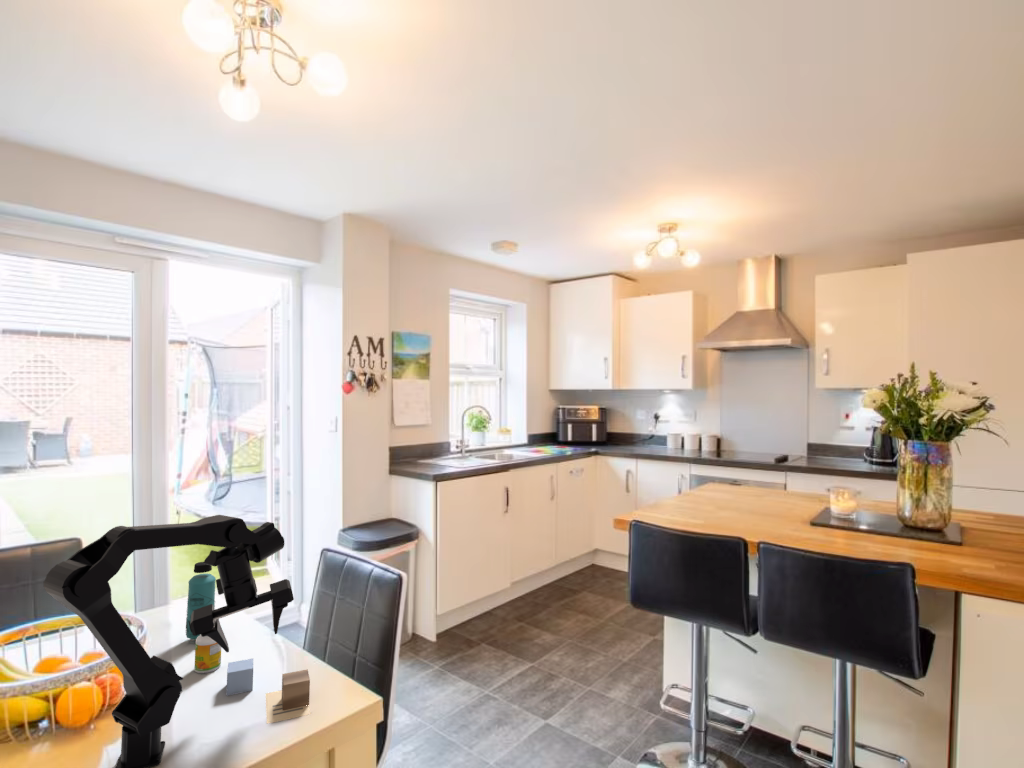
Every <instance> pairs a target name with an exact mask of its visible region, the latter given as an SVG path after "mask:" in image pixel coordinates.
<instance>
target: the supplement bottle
mask: <svg viewBox="0 0 1024 768" xmlns="http://www.w3.org/2000/svg"><path fill="white" fill-rule="evenodd" d="M221 664H222V647H221V646H220V645H219V644H218V643H217V642H216V641H214V640H213V639H211V638H210V637H208V636H204V637H202V636H201V634H200V636H198V637H197V639H195V649H194V672H195V673H197V674H207V673H211V672H212V673H213V672H215V671H216V670H217V669H219V668H220V667H221Z"/></svg>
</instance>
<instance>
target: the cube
mask: <svg viewBox="0 0 1024 768" xmlns="http://www.w3.org/2000/svg"><path fill="white" fill-rule="evenodd" d="M253 687H254V658H247V659H242V660H235V661H231V662H227V672H226V696H232V695H236V694H241V693H246V692H247V693H248V692H252V691H253V689H254V688H253Z"/></svg>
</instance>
